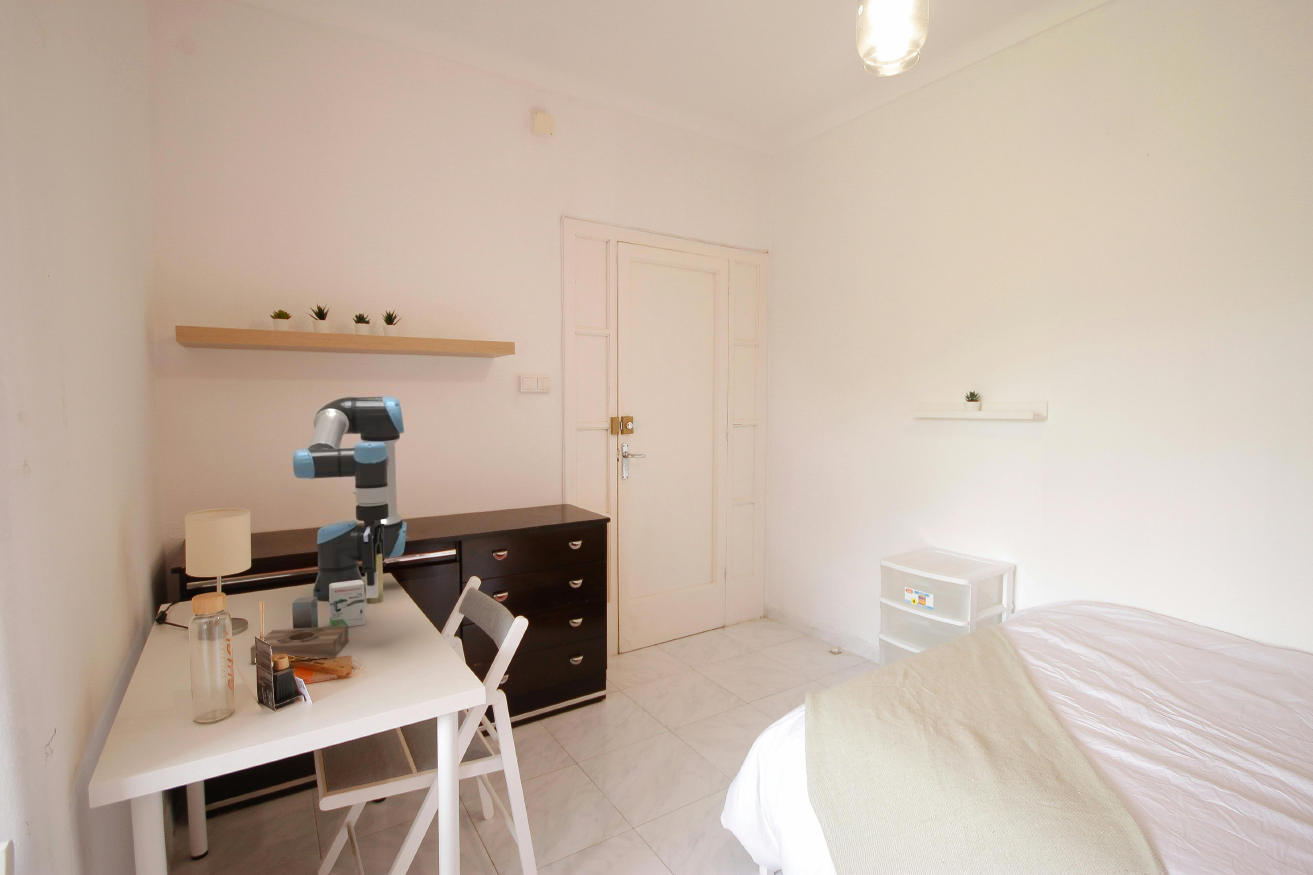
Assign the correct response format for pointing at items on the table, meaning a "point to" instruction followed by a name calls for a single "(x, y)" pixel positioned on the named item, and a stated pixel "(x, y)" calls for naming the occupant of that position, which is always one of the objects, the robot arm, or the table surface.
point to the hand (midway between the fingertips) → (374, 594)
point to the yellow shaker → (380, 581)
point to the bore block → (306, 642)
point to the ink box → (347, 603)
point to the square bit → (305, 613)
